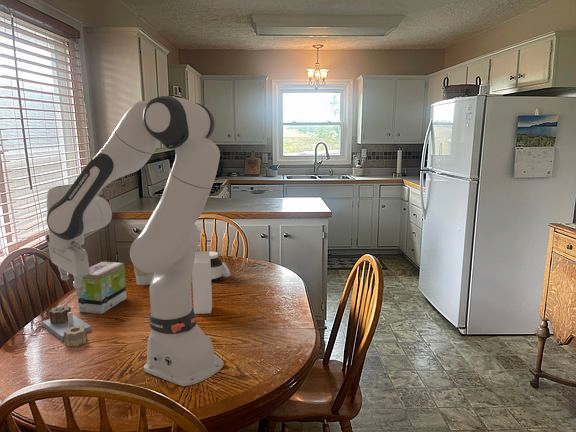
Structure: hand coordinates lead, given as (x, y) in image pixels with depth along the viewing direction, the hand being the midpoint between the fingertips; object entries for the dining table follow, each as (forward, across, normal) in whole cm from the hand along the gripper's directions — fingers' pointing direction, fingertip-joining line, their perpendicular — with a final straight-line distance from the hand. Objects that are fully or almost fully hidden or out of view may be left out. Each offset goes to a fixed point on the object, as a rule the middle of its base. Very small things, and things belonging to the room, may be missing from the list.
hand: (71, 283), depth 125 cm
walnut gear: (+17, +15, -1) cm, 23 cm away
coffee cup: (+19, +32, -41) cm, 55 cm away
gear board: (+19, +11, -1) cm, 22 cm away
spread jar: (+18, +13, -64) cm, 68 cm away
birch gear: (+19, -1, 0) cm, 19 cm away
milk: (+18, -10, -40) cm, 45 cm away
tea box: (+19, +21, -18) cm, 34 cm away
